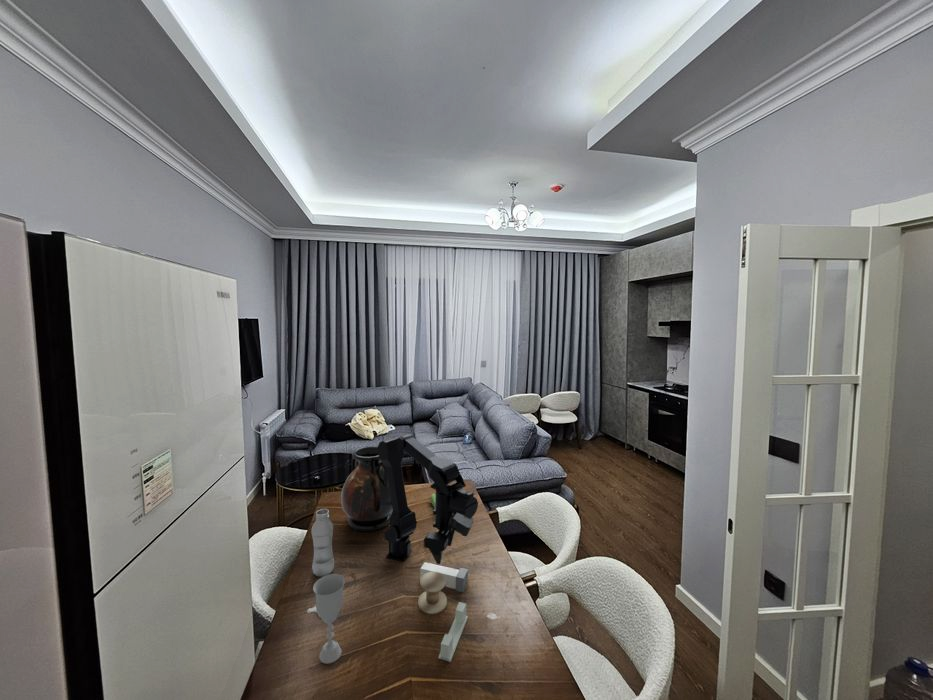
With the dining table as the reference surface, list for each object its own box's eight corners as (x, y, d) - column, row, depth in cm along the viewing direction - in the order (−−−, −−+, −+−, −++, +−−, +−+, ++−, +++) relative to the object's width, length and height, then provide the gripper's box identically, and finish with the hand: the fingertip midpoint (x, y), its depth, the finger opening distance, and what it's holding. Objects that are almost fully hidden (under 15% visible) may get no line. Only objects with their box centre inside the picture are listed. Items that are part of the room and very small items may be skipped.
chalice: (327, 673, 89) (325, 599, 87) (308, 658, 93) (306, 587, 91) (352, 649, 95) (351, 580, 93) (333, 636, 99) (332, 570, 97)
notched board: (438, 658, 93) (438, 643, 93) (457, 615, 107) (457, 601, 106) (450, 662, 93) (450, 646, 92) (467, 617, 106) (468, 604, 105)
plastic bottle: (339, 568, 125) (338, 508, 123) (324, 582, 118) (323, 519, 116) (322, 563, 127) (321, 504, 125) (307, 577, 120) (306, 515, 118)
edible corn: (439, 514, 151) (450, 509, 152) (426, 493, 169) (436, 488, 171) (443, 526, 152) (454, 521, 153) (429, 503, 170) (439, 499, 172)
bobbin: (413, 609, 108) (413, 586, 108) (425, 590, 116) (425, 568, 115) (440, 617, 106) (441, 592, 105) (450, 596, 114) (451, 573, 113)
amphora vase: (409, 517, 156) (410, 449, 153) (369, 544, 138) (368, 467, 135) (370, 502, 168) (370, 438, 165) (328, 525, 149) (327, 453, 146)
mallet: (419, 582, 119) (419, 568, 119) (425, 572, 124) (425, 559, 123) (463, 592, 115) (463, 578, 115) (467, 582, 120) (468, 569, 119)
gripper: (461, 526, 106) (460, 580, 108) (479, 495, 124) (477, 542, 125) (423, 519, 109) (422, 571, 111) (446, 490, 127) (445, 535, 128)
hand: (444, 554), depth 119 cm, fingers open, 9 cm apart
